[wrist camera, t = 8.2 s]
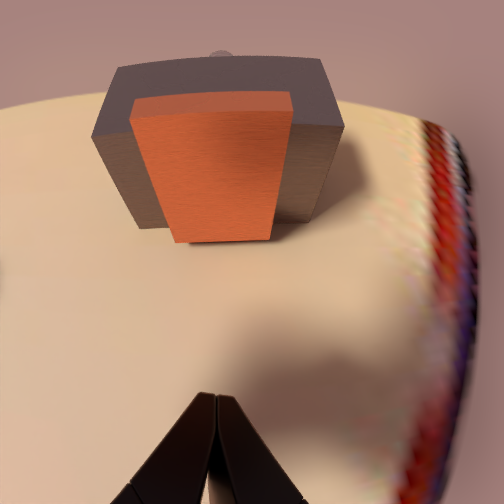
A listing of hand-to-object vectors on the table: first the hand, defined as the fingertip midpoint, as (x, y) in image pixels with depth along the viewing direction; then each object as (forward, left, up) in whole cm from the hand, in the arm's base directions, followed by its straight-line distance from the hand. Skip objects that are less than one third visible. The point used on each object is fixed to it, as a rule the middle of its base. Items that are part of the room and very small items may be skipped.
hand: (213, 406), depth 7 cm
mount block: (+11, -5, -9) cm, 15 cm away
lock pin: (+13, -5, -8) cm, 16 cm away
